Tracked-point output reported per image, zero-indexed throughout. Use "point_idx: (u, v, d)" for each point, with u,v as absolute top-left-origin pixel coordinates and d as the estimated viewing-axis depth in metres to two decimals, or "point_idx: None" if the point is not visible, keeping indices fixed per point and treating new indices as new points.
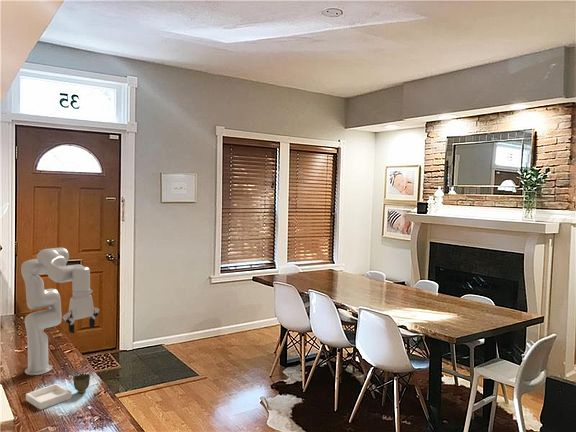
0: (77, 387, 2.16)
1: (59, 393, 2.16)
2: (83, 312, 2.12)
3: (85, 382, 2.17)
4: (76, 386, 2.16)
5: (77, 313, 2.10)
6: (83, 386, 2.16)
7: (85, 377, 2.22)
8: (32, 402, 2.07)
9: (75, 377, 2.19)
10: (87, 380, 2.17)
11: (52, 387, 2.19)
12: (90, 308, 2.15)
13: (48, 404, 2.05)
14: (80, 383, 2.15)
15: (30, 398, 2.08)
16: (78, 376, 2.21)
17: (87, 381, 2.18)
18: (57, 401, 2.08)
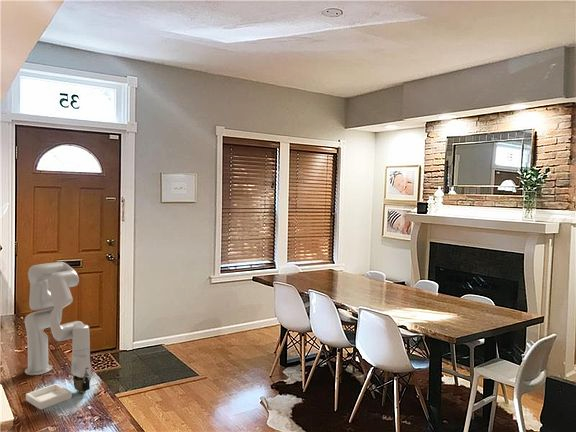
0: (77, 387, 2.16)
1: (59, 393, 2.16)
2: None
3: None
4: (76, 386, 2.16)
5: None
6: None
7: (85, 377, 2.22)
8: (32, 402, 2.07)
9: (75, 377, 2.19)
10: None
11: (52, 387, 2.19)
12: None
13: (48, 404, 2.05)
14: (80, 383, 2.15)
15: (30, 398, 2.08)
16: None
17: None
18: (57, 401, 2.08)
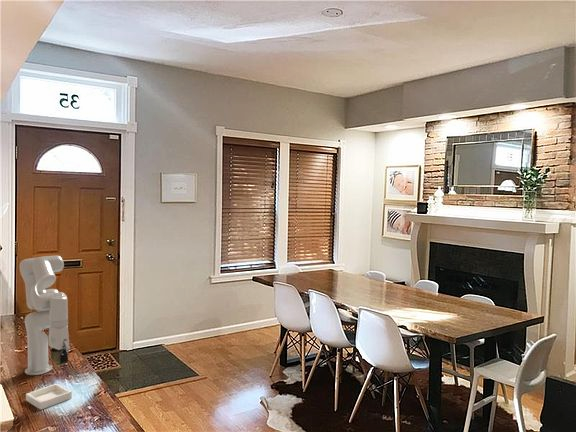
0: (55, 359, 2.10)
1: (59, 393, 2.16)
2: None
3: None
4: (54, 358, 2.10)
5: None
6: None
7: (63, 350, 2.16)
8: (32, 402, 2.07)
9: (53, 349, 2.14)
10: None
11: (52, 387, 2.19)
12: None
13: (48, 404, 2.05)
14: (58, 355, 2.10)
15: (30, 398, 2.08)
16: (56, 349, 2.15)
17: None
18: (57, 401, 2.08)
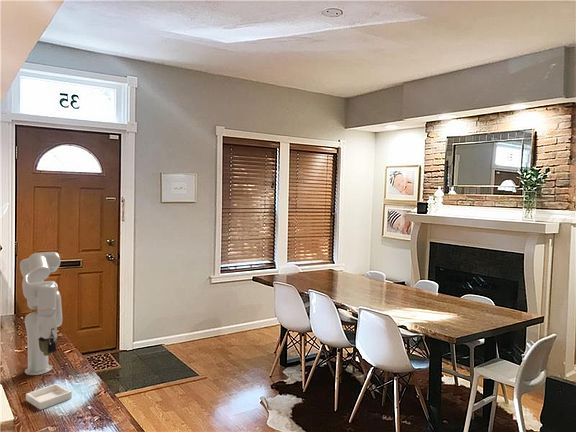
0: (42, 349, 2.07)
1: (59, 393, 2.16)
2: None
3: None
4: (41, 348, 2.07)
5: None
6: None
7: (51, 339, 2.13)
8: (32, 402, 2.07)
9: (41, 339, 2.11)
10: None
11: (52, 387, 2.19)
12: None
13: (48, 404, 2.05)
14: (45, 344, 2.07)
15: (30, 398, 2.08)
16: None
17: None
18: (57, 401, 2.08)
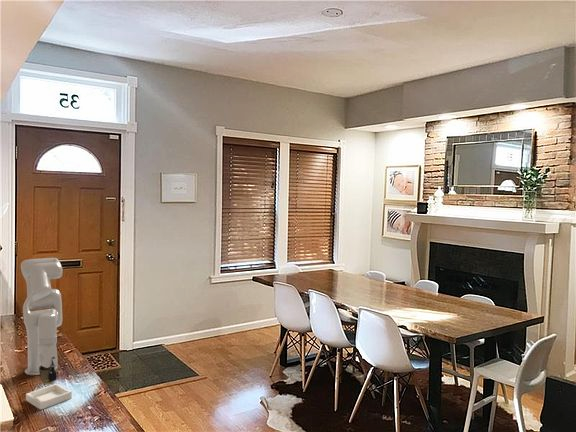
0: (43, 378, 2.08)
1: (59, 393, 2.16)
2: None
3: None
4: (42, 376, 2.08)
5: None
6: None
7: None
8: (32, 402, 2.07)
9: (41, 367, 2.12)
10: None
11: (52, 387, 2.19)
12: None
13: (48, 404, 2.05)
14: (46, 373, 2.08)
15: (30, 398, 2.08)
16: None
17: None
18: (57, 401, 2.08)
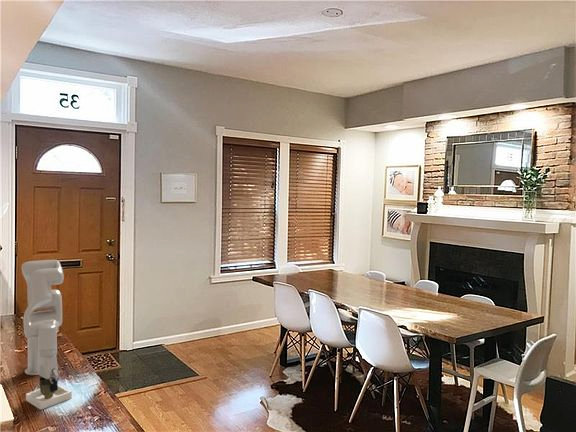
0: (43, 392, 2.09)
1: (59, 393, 2.16)
2: None
3: None
4: (42, 391, 2.09)
5: None
6: (49, 391, 2.09)
7: None
8: (32, 402, 2.07)
9: (42, 382, 2.12)
10: None
11: None
12: None
13: (48, 404, 2.05)
14: (46, 388, 2.08)
15: (30, 398, 2.08)
16: (45, 381, 2.14)
17: None
18: (57, 401, 2.08)
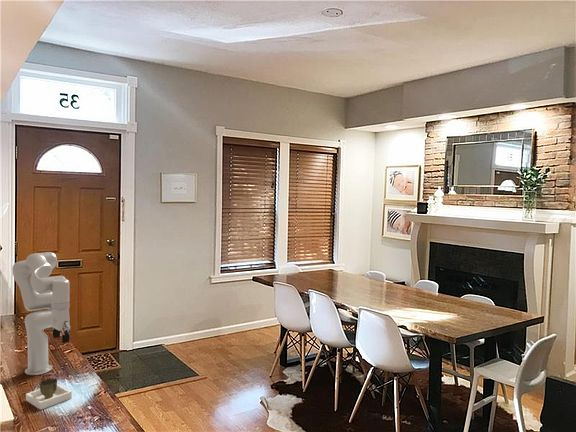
0: (43, 392, 2.09)
1: (59, 393, 2.16)
2: None
3: (52, 387, 2.10)
4: (42, 391, 2.09)
5: None
6: (49, 391, 2.09)
7: (52, 382, 2.15)
8: (32, 402, 2.07)
9: (42, 382, 2.12)
10: (54, 385, 2.10)
11: None
12: None
13: (48, 404, 2.05)
14: (46, 388, 2.08)
15: (30, 398, 2.08)
16: (45, 381, 2.14)
17: (54, 386, 2.11)
18: (57, 401, 2.08)
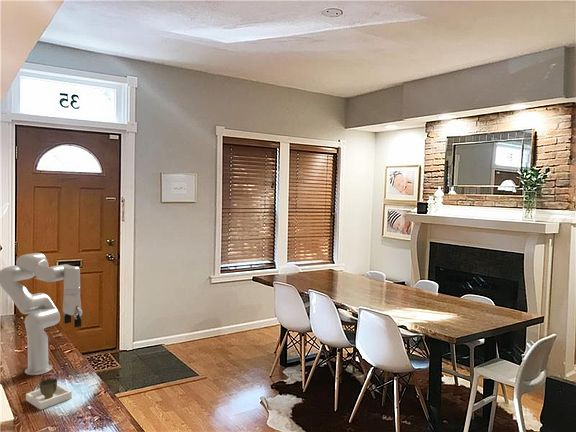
0: (43, 392, 2.09)
1: (59, 393, 2.16)
2: None
3: (52, 387, 2.10)
4: (42, 391, 2.09)
5: None
6: (49, 391, 2.09)
7: (52, 382, 2.15)
8: (32, 402, 2.07)
9: (42, 382, 2.12)
10: (54, 385, 2.10)
11: None
12: None
13: (48, 404, 2.05)
14: (46, 388, 2.08)
15: (30, 398, 2.08)
16: (45, 381, 2.14)
17: (54, 386, 2.11)
18: (57, 401, 2.08)
